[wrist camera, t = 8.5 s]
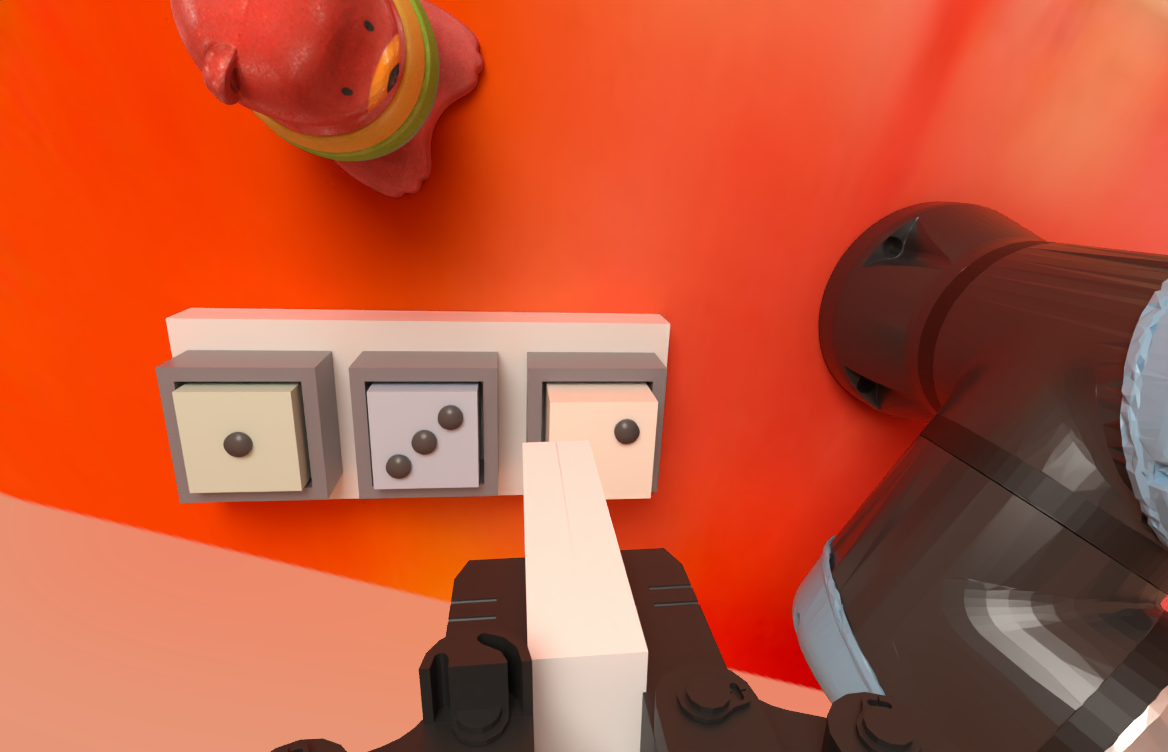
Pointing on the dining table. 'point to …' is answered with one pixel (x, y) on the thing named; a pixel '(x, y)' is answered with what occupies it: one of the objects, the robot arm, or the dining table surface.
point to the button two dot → (608, 430)
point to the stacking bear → (338, 76)
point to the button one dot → (243, 436)
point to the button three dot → (425, 434)
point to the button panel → (407, 379)
